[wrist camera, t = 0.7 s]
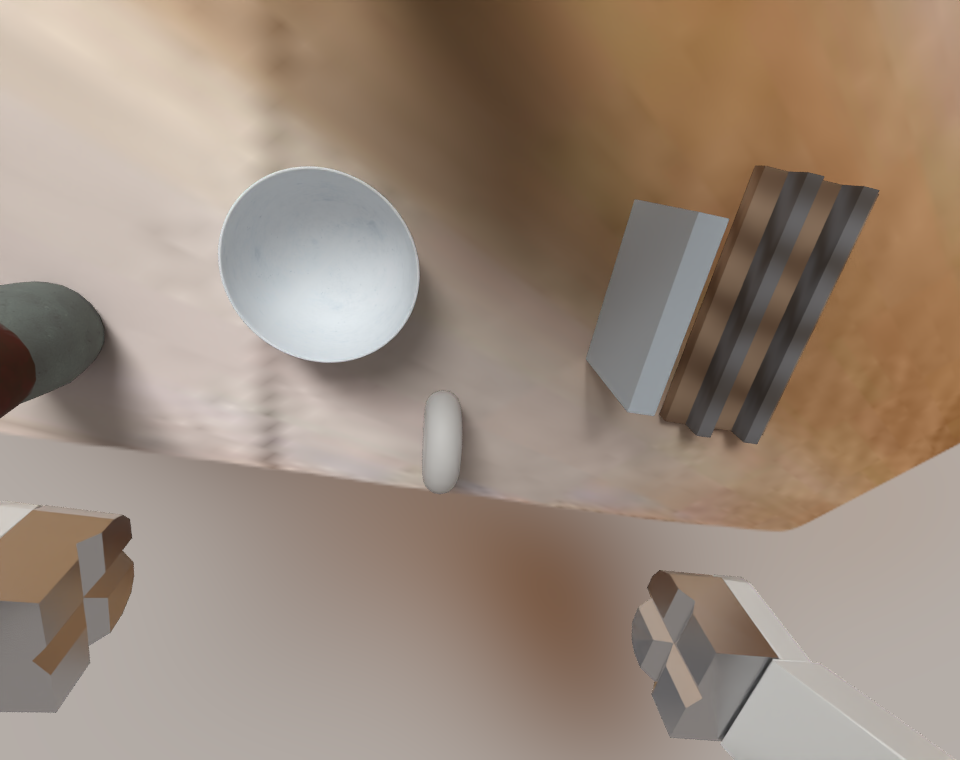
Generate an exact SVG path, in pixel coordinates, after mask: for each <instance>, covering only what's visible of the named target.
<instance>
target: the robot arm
mask: <svg viewBox="0 0 960 760" xmlns="http://www.w3.org/2000/svg"><path fill="white" fill-rule="evenodd" d="M131 539H132V533H131V524H130V519H129V518H127V517H126V516H124V515H120V514H112V513H104V512H96V511H88V510H80V509H72V508H64V507H55V506H48V505H45V506H41V505H34V504H26V503H18V502H10V501H2V502H0V712H53V713H54V712H55V713H56V712H57V711H58V709H59V708H60V706H61V705H62V703H63V702H64V700H65V699H66V697H67V695H68V694H69V693H70V692H71V690H72V689H73V687H74V686H75V684H76V683H77V681H78V680H79V678H80V677H81V675H82V674H83V672H84V671H85V670H86V668H87V667H88V665H89V664H90V655H89V645H91V644H93V643H94V642H96V641H98V640H99V639H101V638H102V637H104V636H106V635H107V634H109V633H110V632H111V631H112V629H113V628H114V626H115V625H116V623H117V622H118V620H119V619H120V617H121V616H122V614H123V611H124V609H125V606H126V604H127V601H128V599H129V597H130V594H131V591H132V585H133V579H134V563H133V561H131V559H130V558H129V557H128V556H127V555H126V554H125V553H124V552H123V551H122V550H123V549H124V548H125V546H126V545H127V544H128V542H129V541H130V540H131ZM647 588H648V591H649V594H650V597H651V598H650V599H649V600H647V601H646V602H645V603H643V604H642V605H641V606H639V607H638V609H637V612H636V614H635V617H634V619H633V622H632V643H633V648H634V653H635V656H636V658H637V661H638V663H639V666H640V668H641V669H642V670H643V671H644V672H645V673H646V674H647V675H649V676H650V677H651V678H652V679H653V680H654V681H655V682H654V686H653V690H652V697H653V699H654V701H655V703H656V706H657V708H658V711H659V713H660V715H661V718H662V720H663V722H664V725H665V727H666V729H667V732H668V734H669V736H670V738H684V739H697V740H711V741H722V742H721V744H720V745H721V746H722V747H723V748H724V749H725V750H726V751H727V752H728V754H729V755H730V756H731V757H732V758H733V759H734V760H956V759H955V758H953V757H952V756H951V755H949V754H948V753H946V752H945V751H944V750H942V749H941V748H939V747H938V746H937V745H935V744H934V743H932V742H931V741H930V740H928V739H926V738H925V737H924V736H923V735H921V734H920V733H918V732H917V731H915V730H914V729H913V728H911V727H910V726H908V725H907V724H906V723H904V722H903V721H901V720H900V719H899V718H897V717H896V716H894V715H893V714H892V713H890V712H889V711H887V710H886V709H885V708H883V707H882V706H880V705H879V704H878V703H876V702H875V701H873V700H872V699H870V698H869V697H867V696H866V695H865V694H863V693H862V692H861V691H859V690H858V689H856V688H855V687H854V686H852V685H851V684H849V683H848V682H847V681H845V680H844V679H842V678H841V677H840V676H838V675H837V674H835V673H834V672H833V671H831V670H830V669H828V668H827V667H825V666H824V665H823V664H821V663H817V662H811V660H810V659H809V658H808V657H807V655H806V654H805V653H804V651H803V650H802V649H801V647H800V646H799V645H798V644H797V642H796V641H795V640H794V639H793V637H792V636H791V635H790V633H789V632H788V631H787V629H786V628H785V627H784V625H783V624H782V623H781V622H780V620H779V619H778V618H777V616H776V615H775V614H774V613H773V611H772V610H771V609H770V607H769V606H768V605H767V603H766V602H765V601H764V600H763V598H762V597H761V596H760V594H759V593H758V592H757V591H756V589H755V588H754V587H753V585H752V584H751V583H749V582H748V581H747V580H745V579H744V578H742V577H732V576H721V575H713V576H712V575H704V574H695V573H684V572H674V571H663V570H659V571H658V572H657V573H656V574H654V575H653V576H652V578H651V580H650V583H649V585H648V587H647Z"/></svg>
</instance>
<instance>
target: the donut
mask: <svg viewBox="0 0 960 760" xmlns="http://www.w3.org/2000/svg"><path fill="white" fill-rule="evenodd" d="M461 455H462V413H461V405H460V402H459V400H458V398H457V397H456V396H455V395H454V394H453V393H451V392H450V391H445V390H442V391H437V392H435V393H433V394H432V395H431V396H430V397H429V398H428V400H427V401H426V406H425V413H424V426H423V449H422V475H423V482H424V484H425V486H426V487H427V488H428V489H429V490H430V491H431V492H433V493H437V494H443V493H447V492H449V491H450V490H451V489H452V488H453V487H454V486H455V485H456V483H457V481H458V478H459V473H460V465H461Z"/></svg>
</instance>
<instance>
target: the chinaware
mask: <svg viewBox="0 0 960 760" xmlns="http://www.w3.org/2000/svg"><path fill="white" fill-rule="evenodd" d="M218 262H219V270H220V275H221V279H222V283H223V286H224V289H225V292H226V294H227V296H228V298H229V300H230V302H231V304H232V306H233V308H234V309H235V311H236V312H237V314H238V315H239V316H240V318H241V319H242V320H243V322H244V323H245V324H246V325H247V326H248V327H249V328H250V329H251V330H252V331H253V332H254V333H255V334H256V335H257V336H259V337H260V338H261V339H262V340H264V341H265V342H266V343H268V344H269V345H271V346H273V347H274V348H276V349H278V350H280V351H282V352H284V353H286V354H289V355H291V356H294V357H297V358H300V359H304V360H308V361H314V362H323V363H336V362H345V361H350V360H355V359H358V358H361V357H364V356H366V355H369V354H371V353H373V352H375V351H377V350H378V349H380V348H381V347H383V346H384V345H386V344H387V343H388V342H389V341H391V340H392V339H393V338H394V337H395V336H396V335H397V334H398V333H399V331H400V330H401V329H402V328H403V326H404V325H405V323H406V322H407V320H408V318H409V317H410V315H411V313H412V310H413V308H414V305H415V302H416V299H417V295H418V290H419V281H420V269H419V260H418V254H417V250H416V247H415V243H414V240H413V238H412V235H411V233H410V231H409V229H408V227H407V225H406V223H405V222H404V220H403V218H402V217H401V215H400V214H399V213H398V211H397V210H396V209H395V208H394V206H393V205H392V204H391V203H390V202H389V201H388V200H387V199H386V198H385V197H384V196H383V195H382V194H381V193H379V192H378V191H377V190H376V189H374V188H373V187H371V186H370V185H368V184H367V183H365V182H364V181H362V180H360V179H358V178H356V177H354V176H352V175H349V174H347V173H344V172H341V171H338V170H334V169H329V168H323V167H313V166H304V167H294V168H288V169H284V170H280V171H277V172H274V173H272V174H269V175H267V176H265V177H263V178H261V179H260V180H258V181H257V182H255V183H254V184H252V185H251V186H250V187H249V188H247V189H246V190H245V191H244V192H243V193H242V194H241V195H240V196H239V197H238V199H237V200H236V201H235V203H234V204H233V206H232V207H231V209H230V210H229V212H228V214H227V216H226V218H225V221H224V223H223V226H222V230H221V234H220V239H219V246H218Z"/></svg>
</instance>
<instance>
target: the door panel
mask: <svg viewBox="0 0 960 760" xmlns="http://www.w3.org/2000/svg"><path fill="white" fill-rule="evenodd" d="M728 221H729V219H728V218H723V217H719V216H714V215H710V214H705V213H701V212H696V211H691V210H686V209H681V208H676V207H671V206H666V205H661V204H656V203H651V202H646V201H641V200H636V199H635V200H634V204H633V207H632V210H631V213H630V217H629V220H628V223H627V226H626V230H625V233H624V236H623V239H622V243H621V246H620V249H619V252H618V256H617V259H616V262H615V266H614V269H613V272H612V275H611V279H610V282H609V285H608V288H607V292H606V295H605V298H604V301H603V305H602V308H601V311H600V314H599V318H598V321H597V324H596V328H595V331H594V334H593V337H592V341H591V344H590V347H589V350H588V354H587V357H586V360H587V361H588V363H589V364H590V365H591V366H592V368H593V369H594V370H595V371H596V373H597V374H598V375H599V377H600V378H601V379H602V380H603V382H604V383H605V384H606V386H607V387H608V388H609V389H610V391H611V392H612V393H613V394H614V396H615V397H616V398H617V400H618V401H619V402H620V403H621V405H622V406H623V407H624V408H625V410H626V411H627V412H630V413H636V414H643V415H650V416H654V415H655V413H656V410H657V407H658V405H659V402H660V399H661V397H662V394H663V392H664V389H665V386H666V384H667V381H668V378H669V376H670V373H671V371H672V368H673V365H674V363H675V360H676V357H677V355H678V352H679V350H680V347H681V344H682V342H683V339H684V336H685V334H686V331H687V329H688V326H689V323H690V321H691V318H692V315H693V313H694V310H695V308H696V305H697V302H698V300H699V297H700V294H701V292H702V289H703V287H704V284H705V281H706V279H707V276H708V273H709V271H710V268H711V266H712V263H713V260H714V258H715V255H716V252H717V250H718V247H719V245H720V242H721V239H722V237H723V234H724V231H725V229H726V226H727V224H728Z"/></svg>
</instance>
